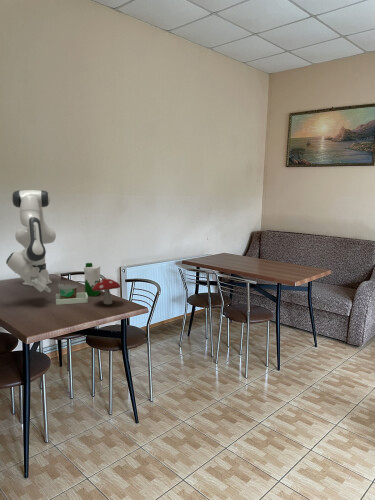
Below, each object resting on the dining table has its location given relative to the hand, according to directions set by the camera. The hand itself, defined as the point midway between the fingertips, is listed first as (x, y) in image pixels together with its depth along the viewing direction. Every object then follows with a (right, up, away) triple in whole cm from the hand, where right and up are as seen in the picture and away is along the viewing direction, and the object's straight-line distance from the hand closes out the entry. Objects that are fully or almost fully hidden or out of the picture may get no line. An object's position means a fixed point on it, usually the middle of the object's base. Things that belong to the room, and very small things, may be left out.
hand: (50, 291), depth 224 cm
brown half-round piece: (+8, -6, +3) cm, 11 cm away
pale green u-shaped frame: (+11, -6, +4) cm, 14 cm away
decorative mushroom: (+33, -7, 0) cm, 34 cm away
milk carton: (+20, -4, +18) cm, 28 cm away
